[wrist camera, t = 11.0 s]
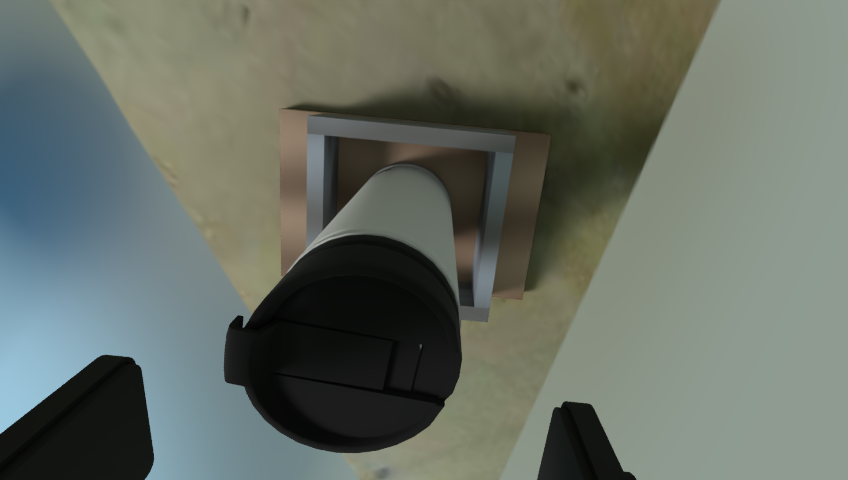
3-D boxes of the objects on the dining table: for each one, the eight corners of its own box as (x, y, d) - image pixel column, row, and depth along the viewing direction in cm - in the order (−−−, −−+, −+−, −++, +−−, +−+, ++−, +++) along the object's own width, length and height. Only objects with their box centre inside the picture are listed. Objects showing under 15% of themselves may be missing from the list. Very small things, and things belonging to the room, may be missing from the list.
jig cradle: (285, 108, 30) (255, 110, 25) (547, 133, 30) (568, 141, 25) (286, 270, 34) (260, 299, 29) (519, 293, 34) (533, 326, 29)
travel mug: (364, 151, 30) (227, 244, 11) (460, 172, 30) (493, 300, 11) (350, 237, 32) (211, 447, 13) (439, 256, 32) (437, 492, 13)
